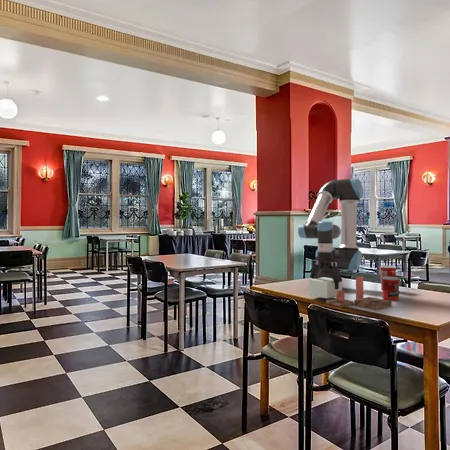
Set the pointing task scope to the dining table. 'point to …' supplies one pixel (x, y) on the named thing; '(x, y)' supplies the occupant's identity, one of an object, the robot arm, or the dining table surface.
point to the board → (334, 302)
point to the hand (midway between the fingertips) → (325, 293)
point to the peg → (359, 287)
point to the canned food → (390, 288)
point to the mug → (387, 272)
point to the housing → (322, 287)
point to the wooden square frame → (373, 303)
